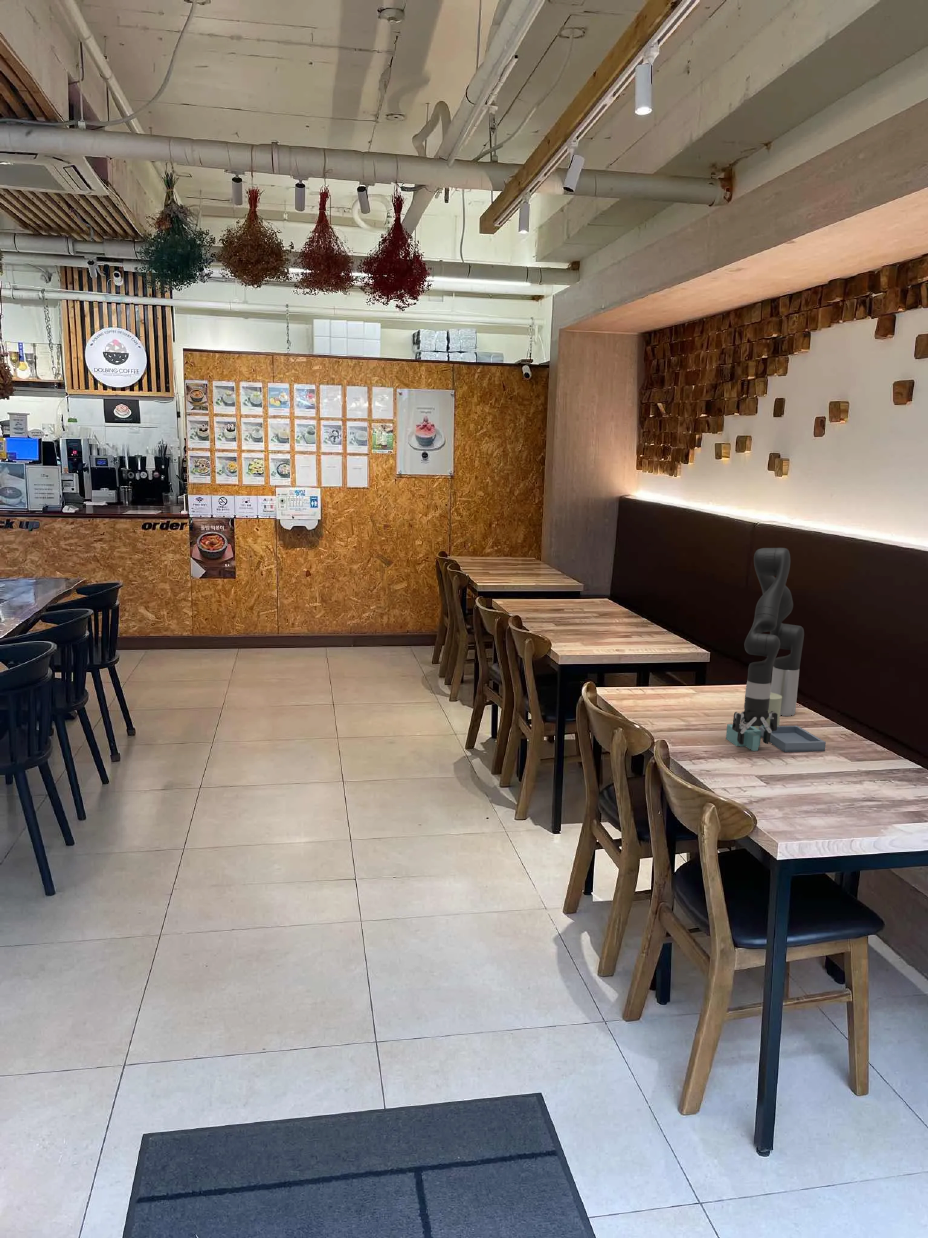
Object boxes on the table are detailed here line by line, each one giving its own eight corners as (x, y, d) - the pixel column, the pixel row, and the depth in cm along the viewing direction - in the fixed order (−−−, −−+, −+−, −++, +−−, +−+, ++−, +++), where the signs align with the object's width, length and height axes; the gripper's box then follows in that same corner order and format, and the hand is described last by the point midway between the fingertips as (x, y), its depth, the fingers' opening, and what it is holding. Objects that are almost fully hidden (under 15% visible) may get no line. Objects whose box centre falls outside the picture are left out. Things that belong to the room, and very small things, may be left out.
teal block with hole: (725, 738, 292) (727, 724, 291) (748, 738, 293) (749, 723, 292) (743, 751, 279) (744, 736, 279) (766, 750, 281) (768, 735, 280)
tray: (758, 735, 296) (758, 726, 296) (796, 734, 299) (797, 725, 298) (784, 752, 279) (785, 743, 279) (824, 751, 282) (825, 742, 281)
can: (775, 723, 310) (778, 691, 307) (782, 732, 301) (785, 698, 298) (749, 722, 310) (751, 690, 308) (754, 730, 301) (757, 697, 299)
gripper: (772, 691, 283) (767, 739, 286) (731, 692, 281) (727, 740, 284) (784, 697, 276) (779, 747, 279) (742, 698, 273) (737, 748, 276)
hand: (753, 743), depth 281 cm, fingers open, 8 cm apart
